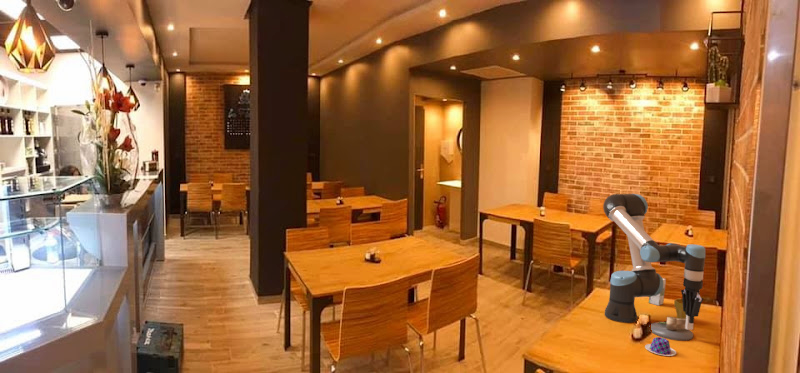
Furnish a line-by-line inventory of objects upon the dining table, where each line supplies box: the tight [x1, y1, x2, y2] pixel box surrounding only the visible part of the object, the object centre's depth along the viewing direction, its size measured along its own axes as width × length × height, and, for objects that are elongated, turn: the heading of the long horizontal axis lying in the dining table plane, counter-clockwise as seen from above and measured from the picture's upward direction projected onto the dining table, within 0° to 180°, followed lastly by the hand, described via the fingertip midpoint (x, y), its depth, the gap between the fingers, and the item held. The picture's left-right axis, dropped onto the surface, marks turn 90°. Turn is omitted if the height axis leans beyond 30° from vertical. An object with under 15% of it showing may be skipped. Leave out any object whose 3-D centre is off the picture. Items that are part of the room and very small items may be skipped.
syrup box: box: [648, 277, 667, 306], centre depth 271 cm, size 6×6×14 cm
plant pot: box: [673, 298, 686, 319], centre depth 247 cm, size 10×10×10 cm
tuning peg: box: [666, 316, 686, 330], centre depth 230 cm, size 10×4×5 cm, turn 91°
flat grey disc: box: [651, 321, 694, 342], centre depth 230 cm, size 18×18×2 cm
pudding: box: [644, 336, 677, 357], centre depth 210 cm, size 12×12×5 cm
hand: (689, 329), depth 223 cm, fingers closed
